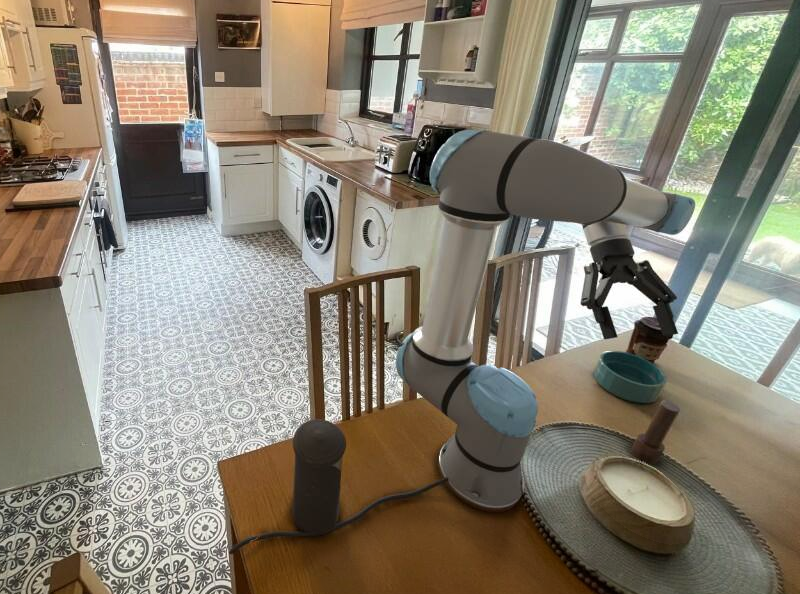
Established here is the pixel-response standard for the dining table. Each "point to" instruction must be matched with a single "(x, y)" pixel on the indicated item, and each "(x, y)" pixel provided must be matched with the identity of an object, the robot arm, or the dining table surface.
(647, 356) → the coffee cup
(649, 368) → the bowl
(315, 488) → the container
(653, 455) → the pestle
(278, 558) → the dining table surface
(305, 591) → the dining table surface
